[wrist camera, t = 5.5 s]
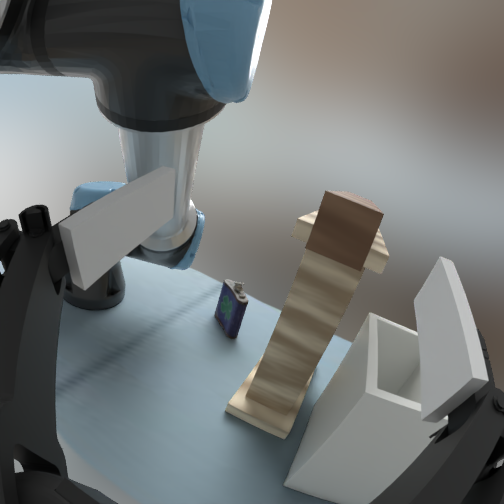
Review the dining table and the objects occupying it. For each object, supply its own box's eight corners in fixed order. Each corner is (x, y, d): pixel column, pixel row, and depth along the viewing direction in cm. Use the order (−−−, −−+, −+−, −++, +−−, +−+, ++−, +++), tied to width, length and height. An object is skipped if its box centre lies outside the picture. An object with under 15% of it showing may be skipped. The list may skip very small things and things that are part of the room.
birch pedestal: (284, 439, 35) (389, 256, 26) (224, 410, 38) (297, 218, 29) (315, 364, 55) (378, 228, 46) (272, 344, 58) (325, 207, 49)
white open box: (359, 508, 24) (462, 423, 18) (282, 485, 28) (365, 392, 21) (372, 427, 40) (436, 340, 34) (313, 405, 44) (369, 312, 37)
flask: (212, 312, 63) (224, 270, 60) (224, 312, 65) (237, 271, 61) (228, 339, 56) (242, 294, 52) (240, 338, 57) (256, 295, 54)
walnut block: (360, 271, 18) (383, 214, 16) (305, 248, 19) (325, 190, 18) (363, 224, 43) (371, 201, 42) (340, 215, 44) (348, 191, 43)
